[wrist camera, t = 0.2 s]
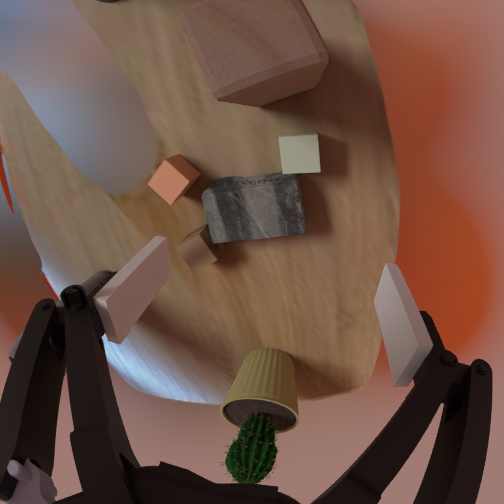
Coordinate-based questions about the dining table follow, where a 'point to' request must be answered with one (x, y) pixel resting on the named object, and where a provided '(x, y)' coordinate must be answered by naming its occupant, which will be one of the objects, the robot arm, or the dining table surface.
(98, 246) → the dining table surface
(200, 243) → the walnut cube
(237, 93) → the wooden block
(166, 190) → the terracotta cube
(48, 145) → the dining table surface
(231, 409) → the potted cactus
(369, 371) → the dining table surface
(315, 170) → the sage cube
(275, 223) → the stone block
